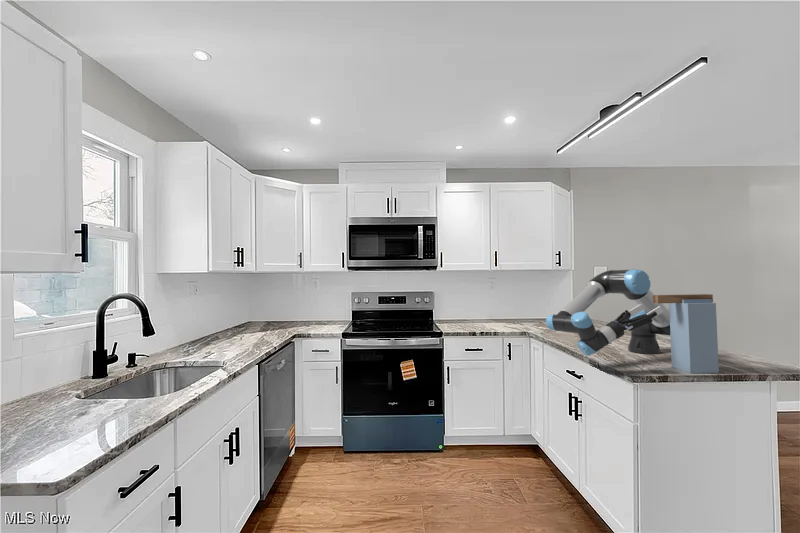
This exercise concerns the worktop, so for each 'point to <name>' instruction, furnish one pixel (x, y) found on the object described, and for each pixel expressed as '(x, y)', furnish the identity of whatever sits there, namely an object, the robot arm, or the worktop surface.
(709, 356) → the tall blue prism
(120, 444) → the worktop surface
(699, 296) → the brown block
